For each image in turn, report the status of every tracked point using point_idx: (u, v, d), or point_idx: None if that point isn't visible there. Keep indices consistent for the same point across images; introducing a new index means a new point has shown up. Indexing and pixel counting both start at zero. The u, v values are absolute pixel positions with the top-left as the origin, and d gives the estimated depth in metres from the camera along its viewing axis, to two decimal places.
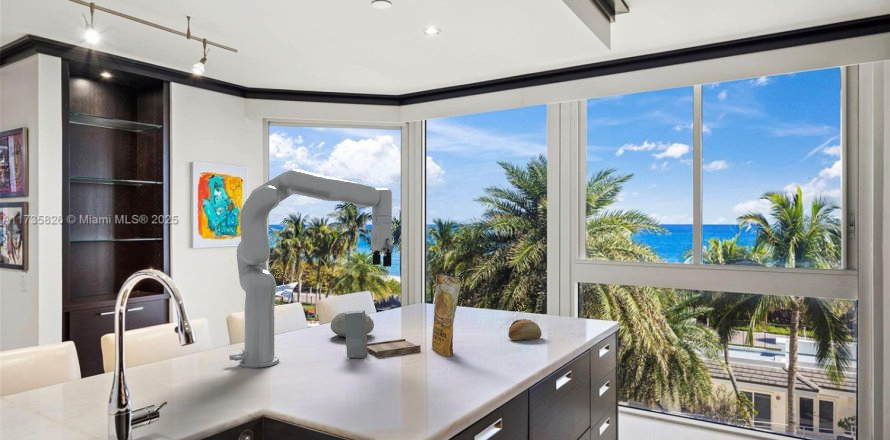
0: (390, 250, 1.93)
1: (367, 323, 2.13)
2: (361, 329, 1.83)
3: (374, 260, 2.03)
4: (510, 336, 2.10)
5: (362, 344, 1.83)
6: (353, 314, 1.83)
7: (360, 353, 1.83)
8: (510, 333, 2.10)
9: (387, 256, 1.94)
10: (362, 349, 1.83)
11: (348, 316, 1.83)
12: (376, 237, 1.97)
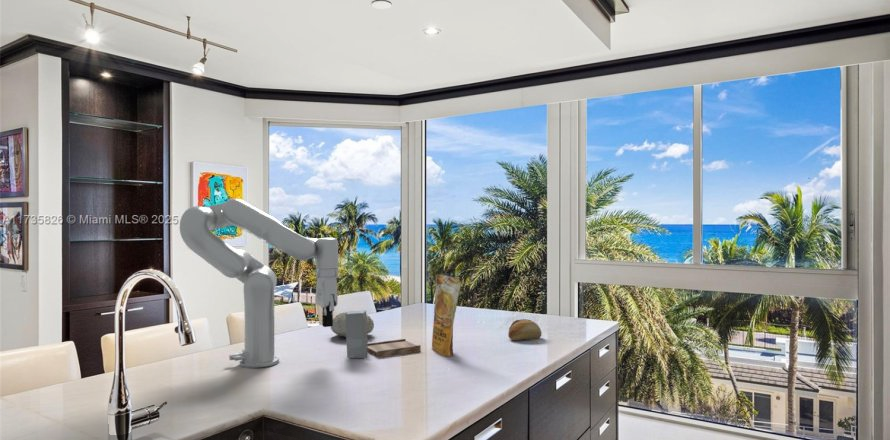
0: None
1: (367, 323, 2.13)
2: (362, 330, 1.83)
3: None
4: (510, 336, 2.10)
5: (362, 345, 1.83)
6: (354, 314, 1.83)
7: (360, 353, 1.83)
8: (510, 333, 2.10)
9: (327, 316, 1.80)
10: (362, 350, 1.83)
11: (349, 316, 1.83)
12: (320, 292, 1.79)
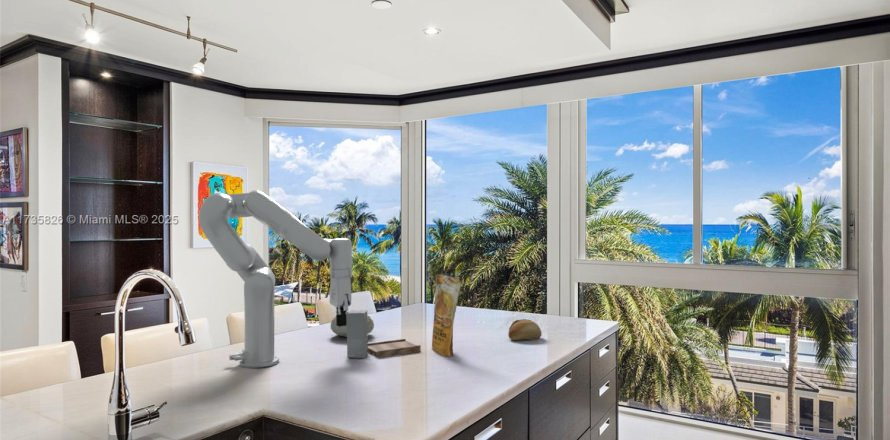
0: None
1: (367, 323, 2.13)
2: (363, 329, 1.83)
3: None
4: (510, 336, 2.10)
5: (363, 344, 1.83)
6: (356, 314, 1.83)
7: (360, 353, 1.83)
8: (510, 333, 2.10)
9: (341, 315, 1.82)
10: (363, 349, 1.83)
11: (350, 315, 1.83)
12: (334, 292, 1.81)
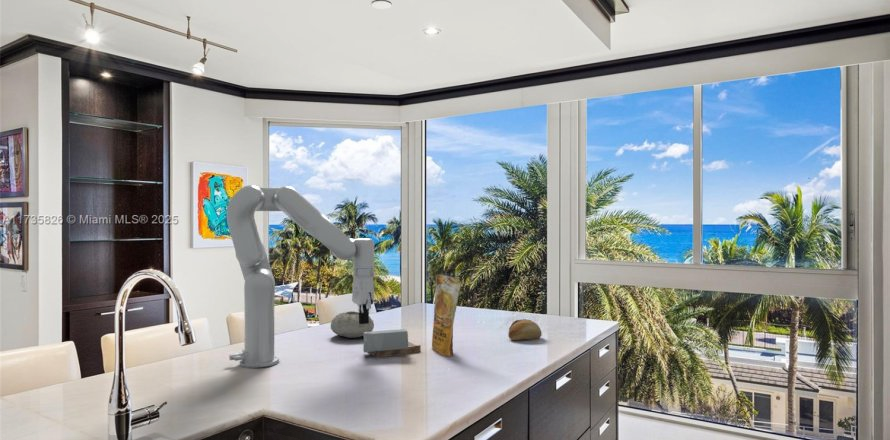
0: None
1: None
2: (391, 348, 1.84)
3: None
4: (510, 336, 2.10)
5: (376, 350, 1.83)
6: (406, 340, 1.85)
7: (368, 347, 1.83)
8: (510, 333, 2.10)
9: (364, 313, 1.87)
10: (371, 350, 1.83)
11: (405, 335, 1.85)
12: (357, 290, 1.86)
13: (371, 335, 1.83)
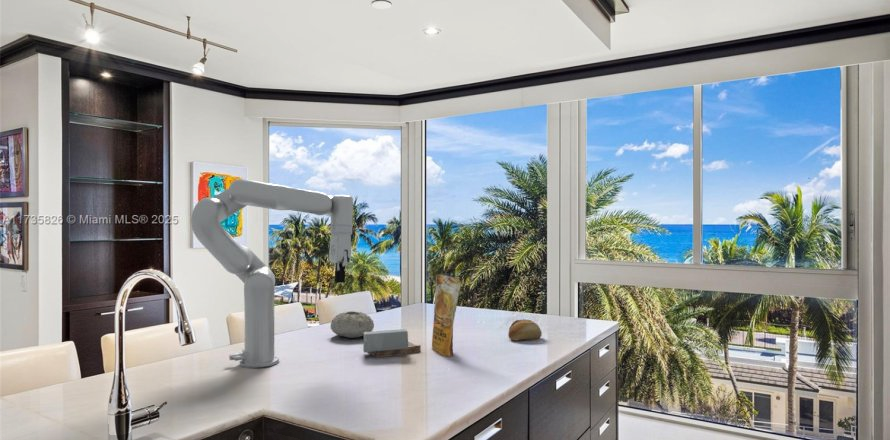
0: None
1: (367, 323, 2.13)
2: (391, 348, 1.84)
3: None
4: (510, 336, 2.10)
5: (376, 350, 1.83)
6: (406, 340, 1.85)
7: (368, 347, 1.83)
8: (510, 333, 2.10)
9: (340, 271, 1.82)
10: (371, 350, 1.83)
11: (405, 335, 1.85)
12: (334, 247, 1.81)
13: (371, 335, 1.83)
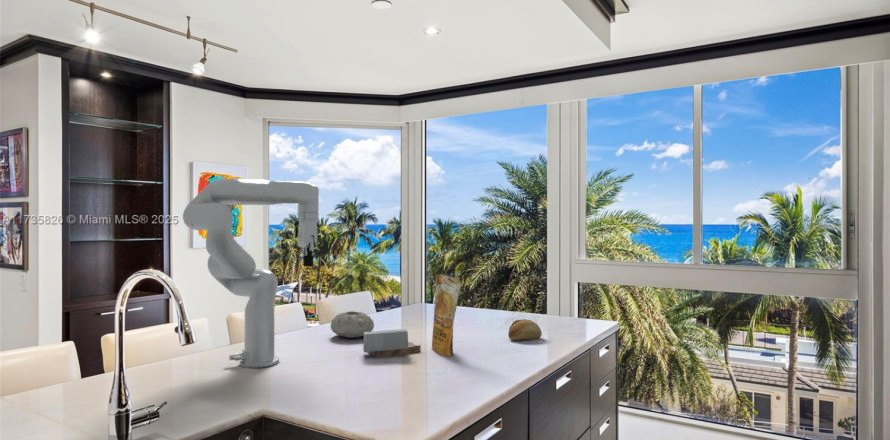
0: None
1: (367, 323, 2.13)
2: (391, 348, 1.84)
3: None
4: (510, 336, 2.10)
5: (376, 350, 1.83)
6: (406, 340, 1.85)
7: (368, 347, 1.83)
8: (510, 333, 2.10)
9: (308, 256, 1.96)
10: (371, 350, 1.83)
11: (405, 335, 1.85)
12: (301, 234, 1.94)
13: (371, 335, 1.83)
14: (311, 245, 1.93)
